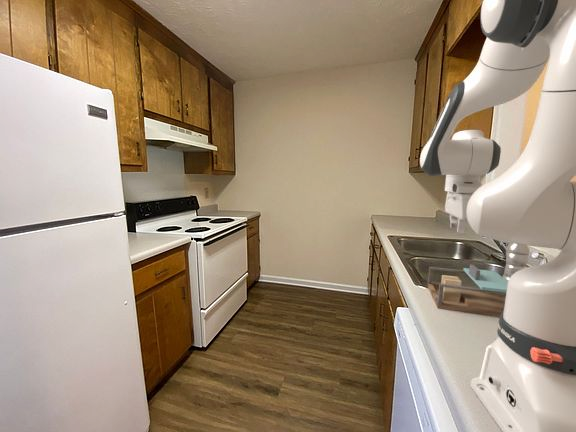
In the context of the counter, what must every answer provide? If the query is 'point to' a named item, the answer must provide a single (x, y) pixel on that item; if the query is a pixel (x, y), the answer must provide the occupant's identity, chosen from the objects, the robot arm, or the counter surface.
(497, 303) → the brown wooden box
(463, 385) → the counter surface
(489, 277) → the cover
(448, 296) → the block
